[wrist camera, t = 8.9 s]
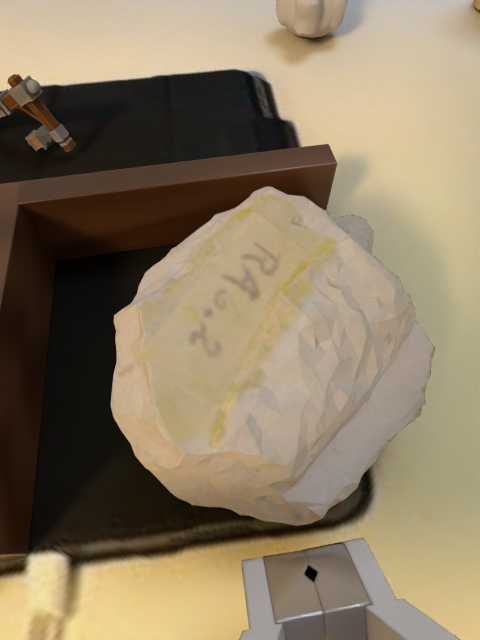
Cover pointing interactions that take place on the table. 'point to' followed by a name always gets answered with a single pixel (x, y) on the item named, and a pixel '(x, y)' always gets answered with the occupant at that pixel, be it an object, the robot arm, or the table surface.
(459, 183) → the table surface
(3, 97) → the wooden post with brackets
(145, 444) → the fossil replica
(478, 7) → the sprinkles bottle
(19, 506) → the corner stop
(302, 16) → the grey lumpy figure
